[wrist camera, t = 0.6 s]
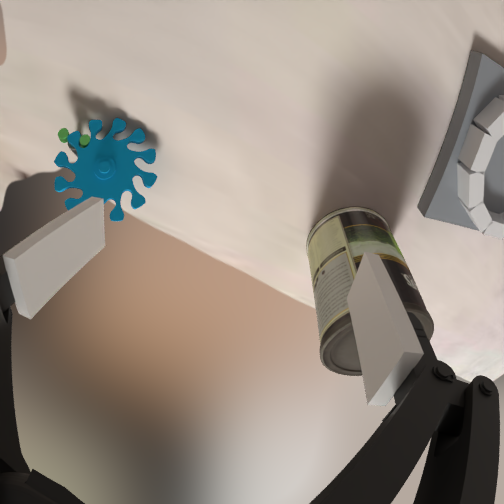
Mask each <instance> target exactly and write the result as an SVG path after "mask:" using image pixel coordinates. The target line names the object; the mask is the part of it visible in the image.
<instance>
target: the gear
mask: <svg viewBox="0 0 504 504" xmlns="http://www.w3.org/2000/svg"><path fill="white" fill-rule="evenodd" d="M125 127H126V123H125V121H123V120H121V119H119V118H116V119H114V121H113V125H112V128H111V130H110V132H109V133H108V134H107V136H105V137H104V138H103V139H101V140H98V139H96V135H97V133H99V132H100V131H101V129H102V121H101V120H90V122H89V130H90V132H91V138H90V137H89V136H88V135H86V134H85V135H80V132H79V131H75V132H73V133H71V134H70V135H69V132H68V130H67V129H66V128H63V129H61V130H60V131H59V132H58V136H59V139H60V141H61V142H63V143H66V142H68V146H69V148H70V149H71V151H72V152H73V153H74V154H75V155H76V156H77V157H78V160H77V161H76V162H75V163H73V164H71V163H69V161H68V157H67V155H66V153H65V152H62V151H61V152H60V153H59V154H58V155H57V157H56V159H55V161H54V162H55V164H56V165H57V166H58V167H65V168H68V169H70V170H71V171H73V172H74V173H75V175H76V177H75V180H74V181H73V182H67V181H66V180H65V179H64V178H63V177H61V176H59V177H56V179H55V190H56V191H57V192H63V191H64V190H66V189H69V188H77V189H81V190H82V191H83V195H82V197H81V198H79V199H74V198H69V199H67V200H66V201H65V205H66V207H67V209H68V211H69V210H70V209H72V208H73V207H75V206H77V205H78V204H80V203H82V202H83V201H85V200H87V199H89V198H90V197H97V198H103V199H104V204H105V203H106V202H107V201H108V200H110V199H112V200H114V201H115V202H116V206H115V208H114V209H113V210H112V211H111V213H110V219H111V221H121V220H123V218H124V213H123V211H122V209H121V205H120V200H121V196H122V193H123V192H124V191H130V192H131V193H132V200H131V206H132V208H134V209H137V208H139V207H141V206H142V205H143V204H144V203H145V198H144V197H143V196H142V195H140V194H139V193H138V192H137V191H136V189H135V188H134V185H133V181H132V178H133V177H134V176H140V177H141V178H142V180H143V184H144V186H145V187H147V188H150V187H152V185H153V184H154V183H155V181H156V178H157V176H156V174H154V173H148V172H144V171H142V170H140V169H139V168H138V167H137V166H136V165H135V163H134V160H135V159H136V158H141V159H143V160H144V161H145V162H146V163H147V164H152V163H154V161H155V158H156V152H155V149H148V150H145V151H141V152H136V151H132V150H129V149H128V148H127V145H128V144H129V143H136V144H140V143H143V142H144V140H145V134H144V132H143V131H142V129H141V128H138V129H136V130H135V131H134V132H133V133H132V134H131V135H130V136H129V137H127V138H126V139H123V140H119V141H116V140H114V139H113V136H114V134H116V133H120V132H122V131H124V129H125Z"/></svg>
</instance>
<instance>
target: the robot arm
mask: <svg viewBox="0 0 504 504" xmlns="http://www.w3.org/2000/svg"><path fill="white" fill-rule="evenodd" d="M104 247H105V235H104V199H103V198H97V197H90V198H89V199H87V200H85V201H83V202H82V203H80V204H78V205H77V206H75V207H73V208H72V209H70V210H69V211H67V212H65V213H64V214H62V215H60V216H59V217H57V218H56V219H54V220H53V221H51V222H49V223H48V224H47V225H45V226H43V227H42V228H40V229H39V230H37V231H36V232H34V233H33V234H31V235H29V236H27V237H26V238H24V239H23V240H22V241H21V242H19V243H17V244H16V245H15V246H13V247H12V248H10V249H9V250H8V251H6V252H5V253H4V254H2V255H1V256H0V504H85V503H83V502H82V501H80V499H78V498H77V497H76V496H75V495H73V494H72V493H71V492H70V491H68V490H67V489H66V488H65V487H63V486H61V485H60V484H58V483H56V482H54V481H52V480H51V479H49V478H47V477H45V476H44V475H42V474H41V473H39V472H37V471H36V470H34V469H32V471H31V472H30V469H29V467H28V465H27V463H26V462H25V460H24V458H23V455H22V453H21V448H20V444H19V437H18V431H17V424H16V417H15V408H14V398H13V386H12V362H11V334H12V310H11V307H10V306H11V305H12V304H13V303H14V302H15V303H16V306H17V310H18V313H19V314H21V315H23V316H25V317H27V318H29V319H31V318H32V317H33V316H34V315H35V314H36V313H37V312H38V311H39V310H40V309H41V308H42V307H43V306H44V304H46V303H47V302H48V300H49V299H50V298H51V297H52V296H53V295H54V294H55V293H56V292H57V291H58V290H59V289H60V288H61V287H62V286H63V285H64V284H65V283H66V282H67V281H68V280H70V278H72V277H73V275H75V274H76V273H77V272H78V271H79V270H80V269H81V268H82V267H83V266H84V265H85V264H86V263H87V262H88V261H89V260H91V259H92V258H93V257H94V256H95V255H96V254H97V253H98V252H99V251H100V250H102V249H103V248H104ZM347 303H348V307H349V311H350V316H351V320H352V325H353V330H354V334H355V339H356V344H357V349H358V354H359V359H360V364H361V370H362V375H363V381H364V386H365V392H366V398H367V404H368V405H381V406H386V405H387V404H388V402H389V401H390V400H391V398H392V397H393V396H394V399H395V403H396V405H395V406H394V407H393V408H392V410H391V411H390V412H389V413H388V414H387V415H386V417H385V418H384V419H383V420H382V421H383V422H382V423H381V424H380V426H379V427H378V428H377V430H376V431H375V432H374V434H373V435H372V436H371V437H370V439H369V440H368V441H367V442H366V443H365V445H364V446H363V447H362V448H361V449H360V451H359V452H358V453H357V454H356V455H355V457H354V458H353V459H352V460H351V461H350V462H349V463H348V464H347V466H346V467H345V468H344V469H343V470H342V471H341V472H340V473H339V474H338V475H337V476H336V477H335V478H334V480H333V481H332V482H331V483H330V484H329V485H328V486H327V487H326V488H325V489H324V490H323V491H322V492H321V493H320V494H319V495H318V496H317V497H316V498H315V499H314V500H312V501H311V503H310V504H391V502H392V501H393V500H394V498H395V497H396V495H397V494H398V492H399V491H400V489H401V488H402V486H403V485H404V483H405V482H406V480H407V479H408V477H409V475H410V474H411V472H412V470H413V469H414V467H415V465H416V464H417V462H418V460H419V459H420V457H421V455H422V453H423V451H424V450H425V448H426V446H427V444H428V442H429V440H430V438H431V442H430V446H429V451H428V455H427V459H426V463H425V467H424V470H423V474H422V477H421V481H420V484H419V487H418V491H417V494H416V497H415V500H414V503H413V504H494V501H495V493H496V485H497V477H498V464H499V445H500V414H499V393H498V390H497V387H496V386H495V384H494V382H492V380H490V379H489V378H487V377H485V376H481V375H480V376H476V377H475V378H474V379H473V380H472V382H471V383H470V384H468V383H465V382H462V381H459V380H457V379H456V376H455V373H454V371H453V370H452V368H451V367H449V366H448V365H447V364H446V363H444V362H442V361H439V360H437V358H436V355H435V353H434V351H433V348H432V346H431V344H430V342H429V339H428V338H427V335H426V333H425V331H424V328H423V326H422V324H421V322H420V320H419V319H418V318H417V317H416V316H415V315H414V314H413V313H412V312H407V311H406V310H405V308H404V306H403V304H402V301H401V299H400V297H399V295H398V293H397V291H396V288H395V286H394V284H393V282H392V280H391V278H390V276H389V274H388V272H387V270H386V268H385V266H384V264H383V262H382V260H381V258H380V256H379V255H377V254H373V253H369V252H364V255H363V257H362V260H361V263H360V265H359V268H358V271H357V273H356V276H355V279H354V281H353V284H352V286H351V289H350V291H349V294H348V296H347Z"/></svg>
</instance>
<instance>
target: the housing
mask: <svg viewBox="0 0 504 504" xmlns="http://www.w3.org/2000/svg"><path fill="white" fill-rule="evenodd" d="M418 209H419V210H420V212H421V213H422V215H423V216H424V217H426V218H430V219H434V220H439V221H443V222H447V223H451V224H455V225H459V226H463V227H467V228H470V229H474V230H478V231H480V232H481V233H483V235H487V236H491V237H494V238H498V239H503V238H504V68H503V67H502V66H500V65H499V64H497V63H496V62H495V61H493V60H492V59H490V58H489V57H487V56H486V55H484V54H483V53H479V52H475V51H471V52H470V57H469V61H468V65H467V69H466V73H465V77H464V80H463V84H462V88H461V91H460V94H459V98H458V101H457V104H456V108H455V111H454V114H453V117H452V120H451V123H450V126H449V129H448V132H447V135H446V137H445V140H444V143H443V146H442V148H441V151H440V154H439V156H438V159H437V162H436V164H435V167H434V169H433V172H432V174H431V177H430V179H429V181H428V184H427V186H426V188H425V191H424V193H423V195H422V198H421V200H420V202H419V204H418Z"/></svg>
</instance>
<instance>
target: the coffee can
mask: <svg viewBox="0 0 504 504" xmlns="http://www.w3.org/2000/svg"><path fill="white" fill-rule="evenodd" d="M306 250H307V256H308V259H309V265H310V271H311V278H312V284H313V292H314V298H315V306H316V313H317V321H318V328H319V336H320V359H321V362H322V363H323V365H324V366H325V367H326V368H327V369H329V370H330V371H333V372H335V373H338V374H343V375H350V376H361V375H362V370H361V364H360V359H359V354H358V349H357V344H356V339H355V334H354V330H353V325H352V320H351V316H350V311H349V307H348V303H347V296H348V294H349V291H350V289H351V286H352V284H353V281H354V279H355V276H356V273H357V271H358V268H359V265H360V263H361V260H362V257H363V255H364V252H369V253H373V254H377V255H379V256H380V258H381V260H382V262H383V264H384V266H385V268H386V270H387V272H388V274H389V276H390V278H391V280H392V282H393V284H394V286H395V288H396V291H397V293H398V295H399V297H400V299H401V301H402V304H403V306H404V308H405V310H406V311H407V312H412V313H413V314H414V315H415V316H416V317H417V318H418V319H419V320H420V322H421V324H422V326H423V328H424V331H425V333H426V335H427V338H428V339H429V341H430V339H431V337H432V335H433V331H434V324H433V320H432V318H431V316H430V314H429V313H428V311H427V309H426V307H425V304H424V302H423V300H422V297H421V295H420V293H419V290H418V288H417V286H416V283H415V281H414V279H413V277H412V274H411V272H410V270H409V268H408V266H407V264H406V261H405V259H404V257H403V255H402V253H401V251H400V249H399V247H398V245H397V243H396V241H395V239H394V237H393V235H392V233H391V231H390V228H389V226H388V224H387V222H386V221H385V219H384V218H383V217H382V216H380V215H379V214H378V213H376V212H375V211H372V210H370V209H366V208H361V207H349V208H344V209H340V210H337V211H334V212H332V213H330V214H329V215H327V216H325V217H324V218H323V219H321V220H320V221H319V222H318V223H317V224H316V225H315V227H314V228H313V229H312V231H311V232H310V234H309V237H308V240H307V246H306Z"/></svg>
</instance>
